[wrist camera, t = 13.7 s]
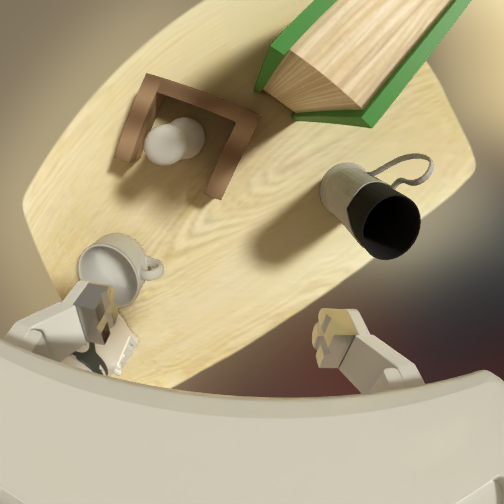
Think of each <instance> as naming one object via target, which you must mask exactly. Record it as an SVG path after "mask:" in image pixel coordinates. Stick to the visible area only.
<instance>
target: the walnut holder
mask: <svg viewBox="0 0 504 504" xmlns="http://www.w3.org/2000/svg"><path fill="white" fill-rule="evenodd" d="M165 95H167V96H170V97H172V98H175V99H178V100H181V101H184V102H187V103H189V104H192V105H195V106H197V107H200V108H203V109H205V110H208V111H210V112H213V113H215V114H218V115H220V116H223V117H225V118H227V119H230V120H232V121H234V122H236V125H235V127H234V129H233V131H232V133H231V135H230V137H229V139H228V141H227V143H226V145H225V147H224V150H223V152H222V154H221V156H220V158H219V160H218V163H217V165H216V167H215V169H214V171H213V174H212V176H211V178H210V180H209V183H208V185H207V187H206V190H205V192H204V194H207V195H209V196H211V197H214V198H216V199H219V200H221V199H222V197H223V195H224V193H225V191H226V188H227V186H228V184H229V182H230V180H231V178H232V176H233V173H234V171H235V169H236V167H237V165H238V163H239V161H240V159H241V157H242V155H243V153H244V151H245V149H246V146H247V144H248V142H249V140H250V138H251V136H252V134H253V132H254V130H255V128H256V126H257V124H258V122H259V121H260V119H261V117H262V116H260V115H258V114H256V113H253V112H251V111H249V110H247V109H244V108H242V107H240V106H237V105H235V104H233V103H230V102H228V101H225V100H223V99H220V98H218V97H215V96H213V95H210V94H208V93H205V92H202V91H200V90H197V89H194V88H191V87H189V86H186V85H183V84H180V83H177V82H174V81H171V80H168V79H164V78H161V77H158V76H155V75H151V74H148V73H146V75H145V78H144V80H143V82H142V84H141V87H140V89H139V91H138V94H137V96H136V98H135V101H134V103H133V106H132V108H131V111H130V113H129V116H128V119H127V121H126V124H125V127H124V130H123V132H122V135H121V138H120V141H119V144H118V147H117V150H116V153H115V157H114V158H116V159H119V160H122V161H124V162H127V163H131V162H133V161H135V160H137V159H140V158H141V155H142V152H143V150H144V141H145V138H146V137H147V135H148V133H149V132H150V131H151V128H152V126H153V123H154V121H155V118H156V116H157V114H158V111H159V109H160V107H161V104H162V102H163V100H164V97H165Z"/></svg>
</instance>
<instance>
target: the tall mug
mask: <svg viewBox="0 0 504 504" xmlns="http://www.w3.org/2000/svg"><path fill="white" fill-rule="evenodd" d="M409 159H424V160H428V161H429V162H430V163H429V167H428V170H427V171H426V173H425V174H424V175H423V176H421V177H420V178H418V179H415V180H407V179H404V178H399V179H397V180H396V181H395V182H394V183H393V184H392V185H391V186H390V185H388V184H387V183H385V182H383V181H381V180H379V179H378V178H376V177H374V176H375V175H377V174H379V173H381V172H383V171H384V170H386V169H388V168H389V167H391V166H393V165H395V164H397V163H399V162H402V161H405V160H409ZM433 169H434V164H433V161H432V160H431V158H430V157H428V156H426V155H423V154H407V155H403V156H400V157H398V158H395V159H394V160H392V161H390V162H388V163H386V164H385V165H383V166H381V167H379V168H378V169H376V170H374V171H372V172H366V171H365V169H363V168H362V167H361V166H359V165H357V164H354V163H341V164H338V165H336V166H334V167H332V168H331V169H330V170H329V171H328V172H327V173H326V174H325V176H324V177H323V179H322V182H321V185H320V198H321V201H322V204H323V205H324V207H325V208H326V209H327V211H328V212H330V213H331V214H333V215H335V216H336V217H337V218H338V219H339V220H340V221H341V222H342V224H343V225H344V226H345V227H346V228H347V230H348V231H349V232H350V233H351V234H352V236H353V237H354V238H355V239H356V240H357V242H358V243H359V244H360V245H361V246H362V247H363V248H365V249H366V250H367V251H368V252H369V254H370V255H372V256H373V257H375V258H378V259H381V260H389V259H394V258H397V257H399V256H400V255H402V254H404V253H405V252H406V251H408V249H410V248H411V246H412V245H413V244H414V242H415V240H416V238H417V236H418V234H419V230H420V224H421V220H420V213H419V210H418V208H417V206H416V204H415V203H414V202H413V201H412V200H411V199H409V198H408V197H406V196H404V195H403V194H401V193H399V192H398V191H396V190H395V189H396V187H397V186H398V185H399V184H401V183H406V184H408V185H411V186H416V185H419V184H421V183H423V182H425V181H426V180H427V179H428V178H429V177H430V175H431V174H432V172H433Z"/></svg>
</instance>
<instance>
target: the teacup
mask: <svg viewBox="0 0 504 504" xmlns="http://www.w3.org/2000/svg"><path fill="white" fill-rule="evenodd" d="M148 266H149V267H153V268H155V269H153V270H148ZM78 272H79V278H80V280H84V281H89V282H95V283H100V284H105V285H111V286H113V287H114V290H115V296H114V298H113V300H114V301H115V302H116V303H117V307H118V308H123V307H127V306H129V305H131V304H132V303H133V302H134V301H135V299H136V298H137V296H138V293H139V291H140V289H141V288H142V286H143V284H144V282H145V280H147V281H151V280H155V279H158V278H159V277H161V276H162V275H163V273H164V267H163V264H162V262H161V261H159V260H157V259H154V258H151V257H150V256H146V254H145V252H144V250H143V248H142V247H141V245H140V244H139V243H138V242H137V241H136V240H135V239H133V238H132V237H130V236H128V235H125V234H121V233H112V234H108V235H105V236H103V237H102V238H100V239H99V240H97V241H96V242H95V243H93V244H92V245H91V246H89V247H87V248H86V249H85V250H84V251H83V253H82V254H81V256H80V258H79V263H78Z"/></svg>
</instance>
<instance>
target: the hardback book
mask: <svg viewBox="0 0 504 504" xmlns="http://www.w3.org/2000/svg"><path fill="white" fill-rule="evenodd" d="M470 1H471V0H314V1H313V2H312V3H311V4H310V5H309V6H308V7H307V8H306V9H305V10H304V11H303V12H302V13H301V14H300V15H299V16H298V17H297V18H296V19H295V20H294V21H293V22H292V23H291V24H290V25H289V26H288V27H287V28H286V29H285V30H284V31H283V32H282V33H281V34H280V35H279V36H278V37H277V38H276V40H275V41H274V42H273V43H272V44H271V45H270V47H269V50H268V52H267V55H266V57H265V60H264V63H263V65H262V68H261V71H260V74H259V76H258V79H257V82H256V85H255V88H254V90H255V91H256V92H258V93H260V92H261V91H262V89H263V90H264V91H266V92H267V93H269V94H270V95H272V96H273V97H274V98H276V99H277V100H279V101H280V102H281V103H283V104H284V105H285V106H287V107H288V108H289V109H291V110H292V111H293V112H295V113H294V115H293V116H292V117H293V118H294V119H295V120H297V121H308V122H321V123H332V124H342V125H351V126H359V127H366V128H373V127H374V125H375V124H376V123H377V122H378V120H379V119H380V118H381V117H382V115H383V114H384V113H385V112H386V110H387V109H388V108H389V107H390V105H391V104H392V103H393V102H394V100H395V99H396V98H397V97H398V95H399V94H400V93H401V92H402V90H403V89H404V88H405V86H406V85H407V84H408V83H409V81H410V80H411V79H412V78H413V76H414V75H415V74H416V72H417V71H418V70H419V69H420V67H421V66H422V65H423V63H424V62H425V61H426V60H427V58H428V57H429V56H430V54H431V53H432V52H433V50H434V49H435V48H436V47H437V45H438V44H439V42H440V41H441V40H442V39H443V37H444V36H445V35H446V33H447V32H448V31H449V30H450V28H451V27H452V26H453V24H454V23H455V22H456V20H457V19H458V17H459V16H460V15H461V13H462V12H463V11H464V10H465V8H466V7H467V6H468V4H469V3H470Z"/></svg>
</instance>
